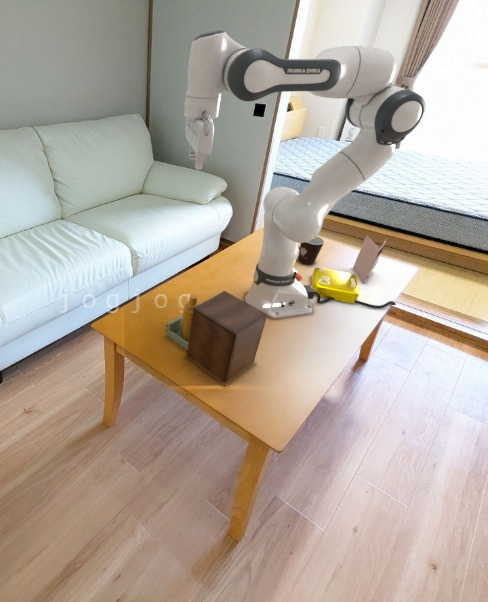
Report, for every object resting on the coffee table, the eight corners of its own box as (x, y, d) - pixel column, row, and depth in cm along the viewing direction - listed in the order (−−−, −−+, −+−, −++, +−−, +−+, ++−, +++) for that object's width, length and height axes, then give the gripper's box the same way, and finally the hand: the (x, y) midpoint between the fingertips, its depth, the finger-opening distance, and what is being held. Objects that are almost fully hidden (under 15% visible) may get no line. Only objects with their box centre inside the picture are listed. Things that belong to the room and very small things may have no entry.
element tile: (356, 305, 131) (361, 293, 129) (310, 295, 136) (314, 284, 133) (353, 283, 143) (357, 273, 140) (311, 275, 147) (314, 265, 144)
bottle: (195, 330, 117) (200, 291, 109) (197, 341, 113) (204, 301, 105) (179, 330, 117) (183, 291, 108) (181, 341, 113) (186, 301, 104)
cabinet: (186, 357, 109) (193, 307, 98) (215, 339, 116) (224, 290, 105) (224, 386, 100) (236, 334, 90) (253, 364, 107) (267, 314, 96)
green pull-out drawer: (161, 333, 117) (162, 319, 114) (183, 320, 123) (185, 306, 119) (198, 361, 107) (201, 346, 104) (221, 345, 113) (224, 331, 109)
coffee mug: (320, 266, 153) (328, 244, 147) (299, 266, 153) (306, 244, 147) (309, 253, 163) (316, 232, 157) (289, 252, 163) (295, 231, 157)
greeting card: (366, 284, 142) (382, 249, 134) (345, 277, 146) (360, 243, 137) (373, 272, 149) (389, 239, 141) (353, 266, 153) (367, 233, 145)
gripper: (222, 116, 87) (214, 175, 95) (205, 103, 104) (199, 154, 112) (196, 115, 87) (189, 175, 95) (183, 102, 103) (179, 154, 111)
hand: (195, 164), depth 103 cm, fingers open, 8 cm apart
